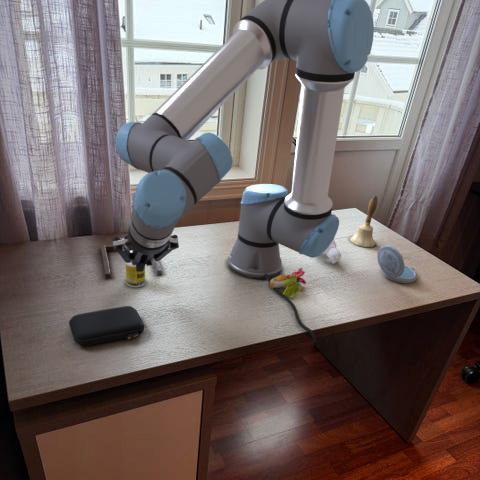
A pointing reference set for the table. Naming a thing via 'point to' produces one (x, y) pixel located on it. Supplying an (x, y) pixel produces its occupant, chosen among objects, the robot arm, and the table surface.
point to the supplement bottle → (134, 275)
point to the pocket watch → (394, 265)
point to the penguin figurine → (332, 253)
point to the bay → (110, 248)
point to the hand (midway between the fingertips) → (139, 265)
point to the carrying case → (106, 325)
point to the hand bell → (366, 228)
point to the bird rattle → (289, 283)
